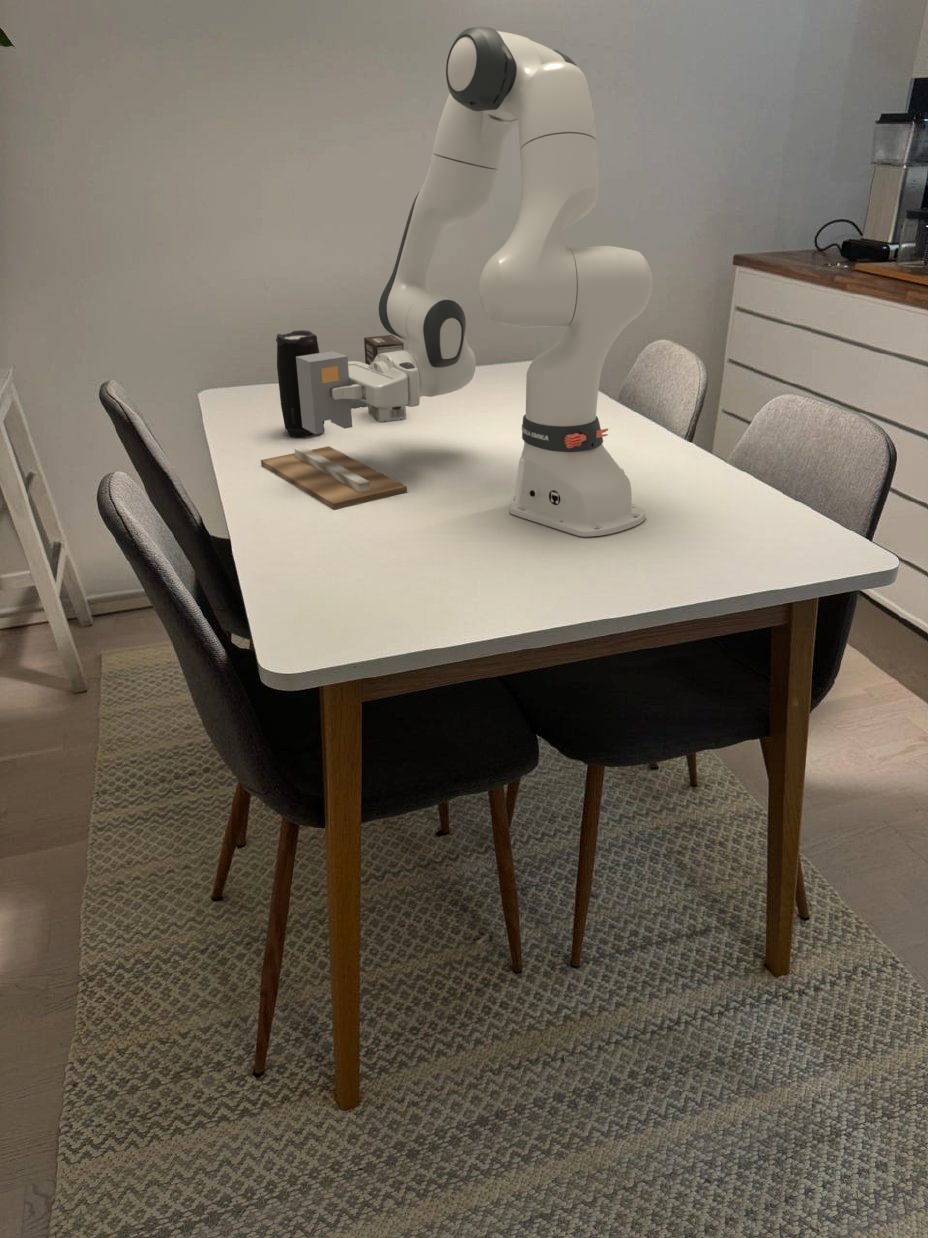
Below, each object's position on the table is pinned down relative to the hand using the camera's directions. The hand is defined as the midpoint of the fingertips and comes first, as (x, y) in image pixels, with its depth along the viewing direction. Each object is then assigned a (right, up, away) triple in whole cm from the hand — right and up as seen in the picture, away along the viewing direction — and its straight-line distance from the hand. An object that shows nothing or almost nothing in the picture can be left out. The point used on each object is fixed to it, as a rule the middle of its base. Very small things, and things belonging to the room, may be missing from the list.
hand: (322, 389), depth 155 cm
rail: (0, -14, +7) cm, 16 cm away
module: (0, -6, +3) cm, 7 cm away
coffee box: (+7, +5, +43) cm, 44 cm away
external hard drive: (-2, +10, +55) cm, 56 cm away
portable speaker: (-8, -1, +32) cm, 33 cm away
